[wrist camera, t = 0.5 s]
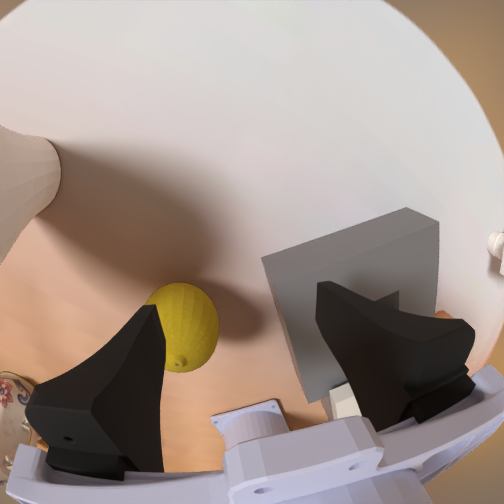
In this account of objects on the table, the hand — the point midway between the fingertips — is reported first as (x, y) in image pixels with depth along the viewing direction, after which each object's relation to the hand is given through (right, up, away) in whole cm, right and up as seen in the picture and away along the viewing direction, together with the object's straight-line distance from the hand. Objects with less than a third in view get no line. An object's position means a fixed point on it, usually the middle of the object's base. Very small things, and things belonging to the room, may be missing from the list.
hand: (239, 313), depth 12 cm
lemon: (-5, -1, +10) cm, 12 cm away
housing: (+11, -5, +15) cm, 19 cm away
